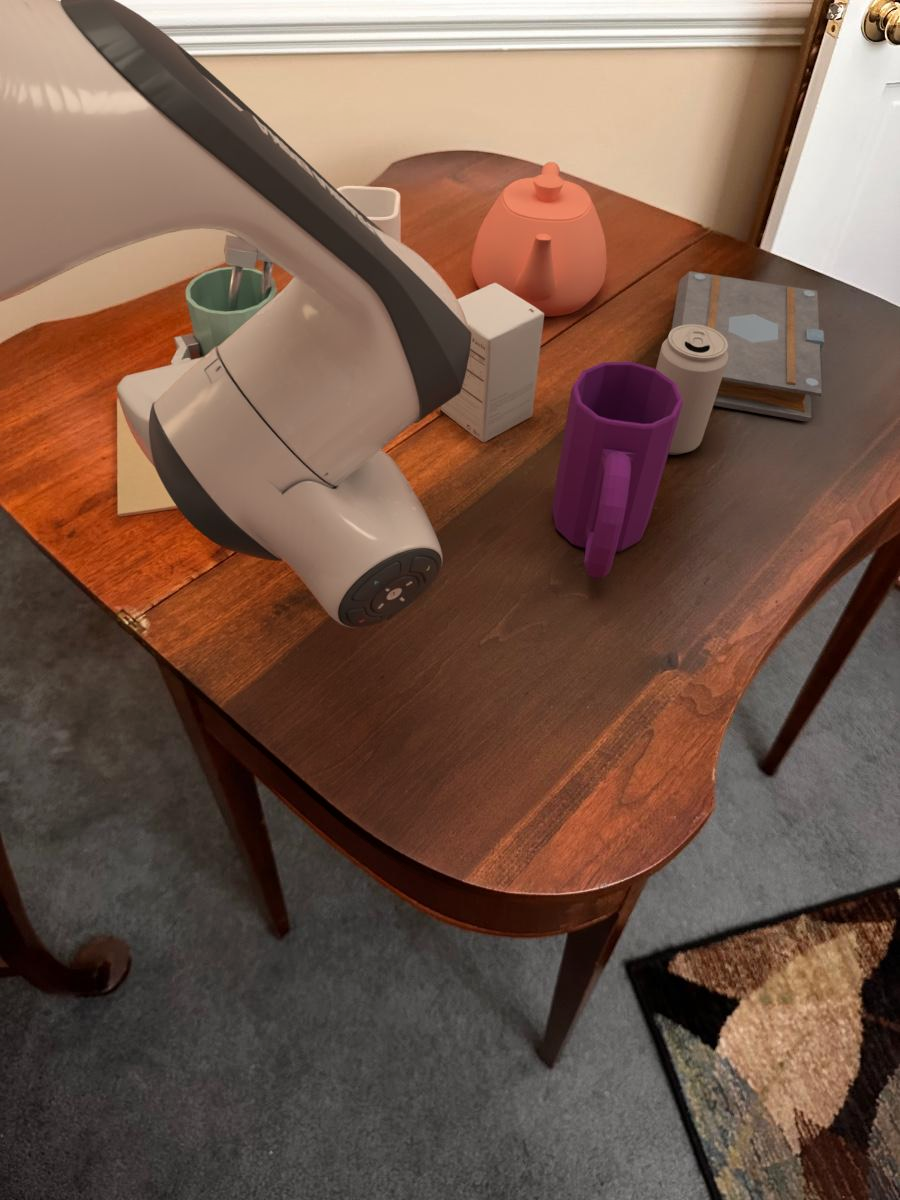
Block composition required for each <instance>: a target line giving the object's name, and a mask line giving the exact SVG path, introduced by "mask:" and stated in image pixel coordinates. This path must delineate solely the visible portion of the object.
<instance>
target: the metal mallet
mask: <svg viewBox="0 0 900 1200" xmlns="http://www.w3.org/2000/svg"><path fill="white" fill-rule="evenodd" d="M256 251H257V258H256V261H258V262H263V263H262V264H263V265H262V272H263V273H262V282H261V291H260V300H259V303H261V302H262V301H264V300H265V299H267V298H268V296H269V294H270V289H271V281H272V279H273V271H274V264H275V263H274V262H273V261H271V260H270V259H268V258H267V257H266V256H264V255H263V254H262V253H260V252H259V251H258V250H256Z"/></svg>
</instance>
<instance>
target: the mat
mask: <svg viewBox="0 0 900 1200" xmlns="http://www.w3.org/2000/svg"><path fill="white" fill-rule="evenodd" d="M116 435H117V436H116V437H117V438H116V451H117V452H116V461H117V462H116V469H117V470H116V471H117V473H116V474H117V475H116V476H117V479H116V481H117V482H116V483H117V485H116V486H117V487H116V488H117V489H116V491H117V493H116V494H117V495H116V497H117V502H116V503H117V504H116V505H117V517H118V518H121V517H127V516H136V515H143V514H149V513H156V512H157V513H158V512H164V511H171V510H177V509H178V507H177V506H176V504H175V503H174V501H173V500H172V498H171V497H170V495H169V494H168V492H167V490H166V489H165V487H164V485H163V483H162V481H161V479H160V477H159V475H158V473H157V471H156V469H155V467H154V466H153V465H152V463H151V462H150V461H149V460H148V458H147V457H146V456H145V454H144V453H143V451H142V450H141V448H140V447H139V445H138V444H137V442H136V440H135V438H134V437H133V435H132V433H131V431H130V429H129V426H128V424H127V422H126V419H125V416H124V413H123V410H122V407H121V404H120V401H119V397H117V398H116ZM178 510H179V509H178Z"/></svg>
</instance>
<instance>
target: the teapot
mask: <svg viewBox="0 0 900 1200" xmlns="http://www.w3.org/2000/svg"><path fill="white" fill-rule="evenodd" d="M560 171H561V169H560V165H558V163H557V162H554V161H548V162H546V163H545V164H544V165H543V167H542V169H541V174H537V175H536V176H534V177H525V178H524V177H523V178H520V179H517V180H515V181H513V182H511V183H509V184H508V185H507V186H506V187H505V188H504V189H503V191H502V192H501V193H500V194H499V196H498V197H497V198H496V200H495V202H494V203H493V205H492V207H491V208H490V209H489V211H488V212H487V214H486V216H485V218H484V220H483V221H482V223H481V226H480V227H479V230H478V232H477V235H476V239H475V241H474V246H473V249H472V255H471V273H472V276H473V279H474V282H475V284H476V285H477V287H478V288H479V289H481V288H484V287H486V286H488V285H490V284H492V283H497V284H499V285H500V286H502V287H504V288H505V289H507V290H508V291H510V292H512V293H513V294H515V295H516V296H518V297H520V298H521V299H523V300H524V301H526V302H528V303H529V304H531V305H533V306H534V307H536V308H537V309H539V310H540V311H541V312H543V313H544V317H560V316H567V315H570V314H573V313H575V312H577V311H579V310H580V309H582V308H583V307H584V306H585V305H587V304H589V302H590V301H591V300H592V299H593V298H594V297H595V296H596V295H597V294H598V293H599V292H600V290H601V288H602V287H603V285H604V282H605V280H606V276H607V275H606V273H607V268H608V267H607V265H608V263H607V261H608V256H607V243H606V237H605V234H604V230H603V226H602V224H601V221H600V218H599V217H600V216H599V214H598V212H597V209H596V207H595V205H594V202H593V200H592V198H591V195H590V194H589V193H588V191H586V189H585V188H584V187H582V186H581V185H580V184H578V183H575V182H572V181H568V180H564V179H563V178H562V177H561V176H560Z"/></svg>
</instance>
